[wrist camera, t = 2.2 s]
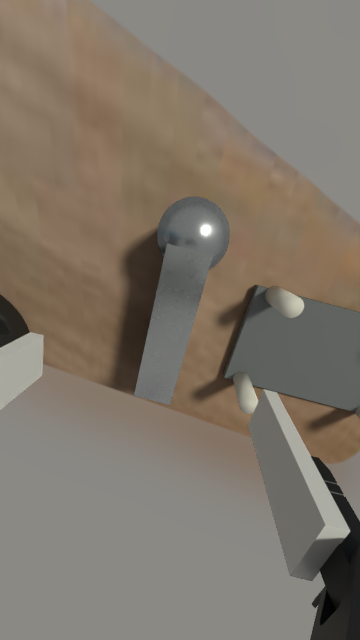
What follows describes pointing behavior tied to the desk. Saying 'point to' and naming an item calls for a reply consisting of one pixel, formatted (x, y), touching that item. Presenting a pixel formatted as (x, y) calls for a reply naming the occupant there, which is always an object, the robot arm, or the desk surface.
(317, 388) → the pad
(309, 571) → the robot arm
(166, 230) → the grey ball-ended handle
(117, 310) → the desk surface
